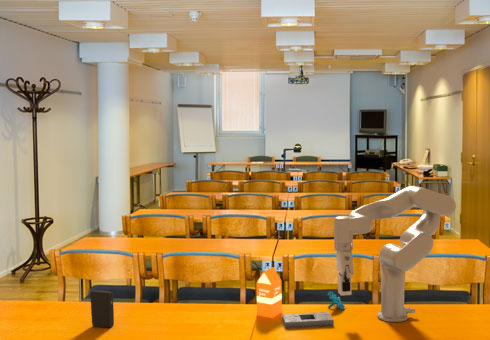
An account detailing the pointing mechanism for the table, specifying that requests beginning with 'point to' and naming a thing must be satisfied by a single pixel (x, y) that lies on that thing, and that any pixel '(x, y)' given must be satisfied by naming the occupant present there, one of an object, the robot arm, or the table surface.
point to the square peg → (340, 280)
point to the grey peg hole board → (307, 320)
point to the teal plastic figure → (335, 301)
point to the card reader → (102, 308)
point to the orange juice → (269, 294)
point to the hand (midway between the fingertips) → (344, 288)
